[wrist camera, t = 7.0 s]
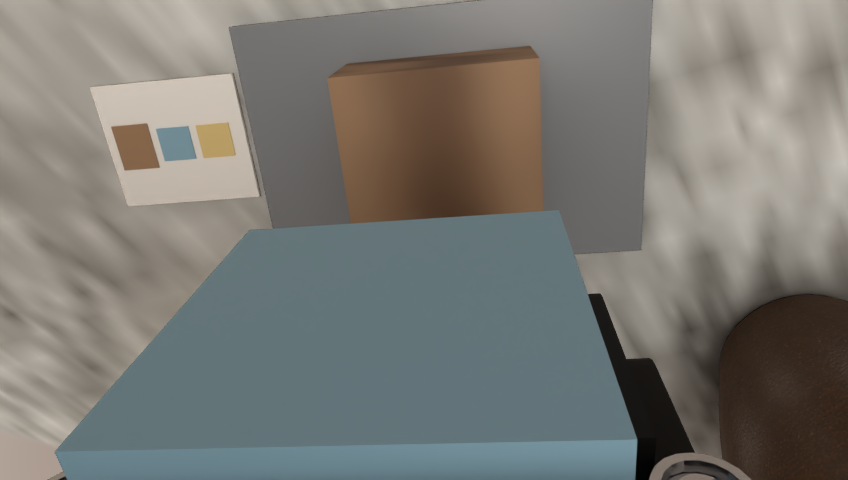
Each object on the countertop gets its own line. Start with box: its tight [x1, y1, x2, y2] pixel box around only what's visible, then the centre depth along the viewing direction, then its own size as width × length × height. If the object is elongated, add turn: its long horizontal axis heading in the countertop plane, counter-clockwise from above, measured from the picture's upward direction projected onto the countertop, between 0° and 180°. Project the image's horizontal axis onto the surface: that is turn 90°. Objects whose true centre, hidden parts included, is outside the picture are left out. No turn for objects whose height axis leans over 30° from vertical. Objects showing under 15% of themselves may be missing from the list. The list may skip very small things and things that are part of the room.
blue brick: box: [55, 210, 637, 480], centre depth 10 cm, size 6×6×6 cm
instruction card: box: [90, 73, 261, 206], centre depth 29 cm, size 7×6×1 cm
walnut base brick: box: [327, 46, 543, 224], centre depth 26 cm, size 8×8×4 cm
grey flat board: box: [229, 0, 653, 254], centre depth 28 cm, size 18×12×1 cm, turn 96°
